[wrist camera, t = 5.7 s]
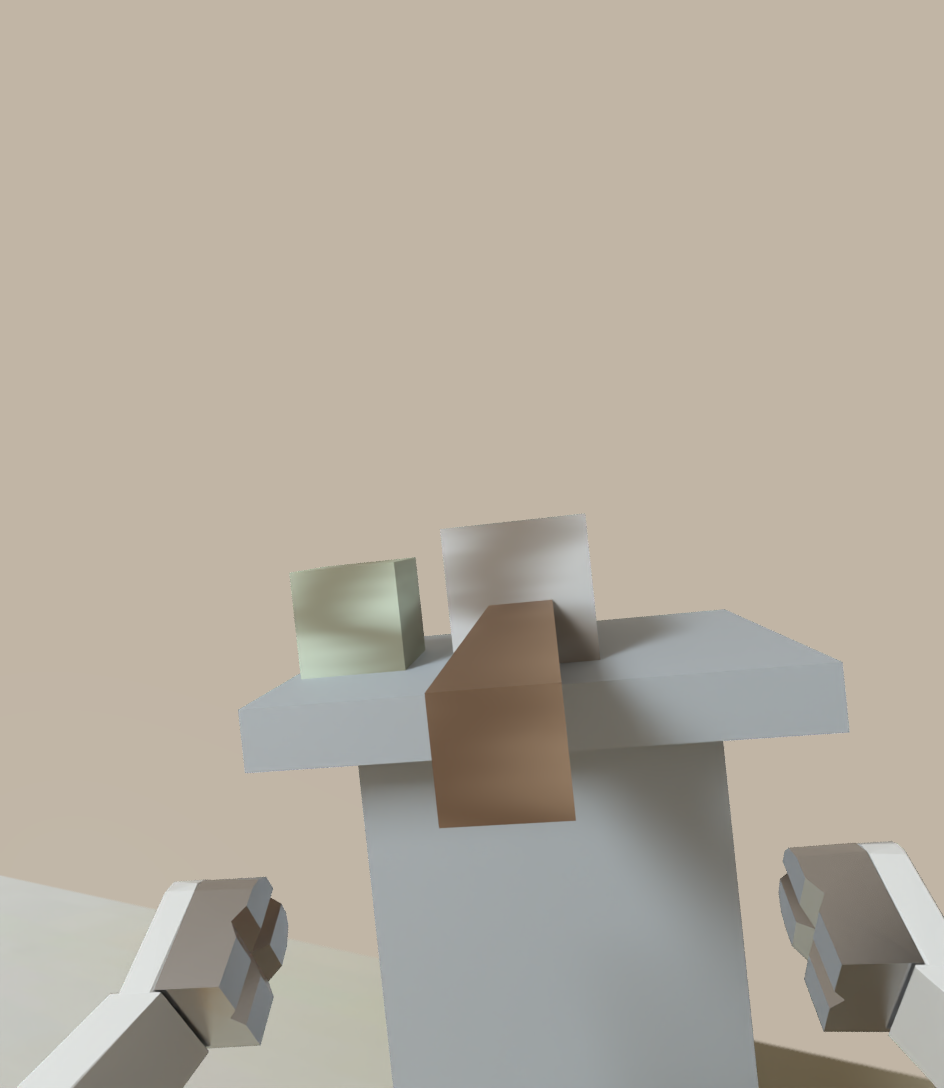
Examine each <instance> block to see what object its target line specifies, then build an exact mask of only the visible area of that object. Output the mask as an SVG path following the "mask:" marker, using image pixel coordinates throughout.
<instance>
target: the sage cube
mask: <svg viewBox="0 0 944 1088" xmlns="http://www.w3.org/2000/svg"><path fill="white" fill-rule="evenodd" d="M290 582H291V591H292V601H293V609H294V619H295V627H296V637H297V646H298V655H299V664H300V673H301V679H310V678H322V677H334V676H345V675H357V674H369V673H381V672H393V671H405V670H406V669H407V668H408V667H409V666H410V665H411V664H412V663H413V662H414V661H415V660H416V659H417V658H418V657H419V656H420V655H421V654H422V653H423V652H424V651H425V641H424V633H423V623H422V614H421V604H420V595H419V586H418V576H417V567H416V558H406V559H396V560H386V561H376V562H367V563H358V564H347V565H339V566H328V567H321V568H316V569H310V570H304V571H298V572H293V573H290Z"/></svg>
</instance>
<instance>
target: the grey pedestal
mask: <svg viewBox="0 0 944 1088" xmlns="http://www.w3.org/2000/svg"><path fill="white" fill-rule="evenodd" d="M596 622H597V632H598V641H599V651H600V660H594V661H582V662H570V663H559V664H560V673H561V682H562V692H563V701H564V711H565V720H566V730H567V739H568V749H569V758H570V768H571V777H572V787H573V796H574V806H575V815H576V821H563V822H545V823H527V824H508V825H490V826H472V827H454V828H439V824H438V815H437V805H436V796H435V787H434V778H433V768H432V759H431V750H430V740H429V731H428V722H427V713H426V703H425V694H424V693H425V692H426V690H427V689H428V688H429V686H430V685H431V684H432V682H433V681H434V679H435V678H436V677H437V675H438V674H439V673H440V671H441V670H442V669H443V667H444V666H445V664H446V663H447V662H448V660H449V659H450V658H451V656H452V655H453V645H452V635H451V634H445V635H434V636H424V641H425V651H424V652H423V653H422V654H421V655H420V656H419V657H418V658H417V659H416V660H415V661H414V662H413V663H412V664H411V665H410V666H409V667H408V668H407V669H406V670H405V671H393V672H381V673H369V674H357V675H345V676H334V677H322V678H310V679H301V673H300V674H298V675H296V676H295V677H293V678H292V679H290V680H288V681H286V682H285V683H283V684H281V685H280V686H278V687H276V688H274V689H273V690H271V691H269V692H268V693H266V694H265V695H263V696H261V697H259V698H258V699H256V700H254V701H253V702H251V703H249V704H247V705H246V706H244V707H242V708H241V709H239V710H238V713H239V722H240V731H241V740H242V749H243V757H244V767H245V773H253V772H269V771H284V770H298V769H313V768H328V767H343V766H358V767H359V777H360V785H361V794H362V803H363V813H364V822H365V831H366V840H367V850H368V859H369V868H370V876H371V885H372V896H373V905H374V914H375V923H376V932H377V941H378V950H379V960H380V969H381V978H382V987H383V996H384V1006H385V1015H386V1024H387V1033H388V1042H389V1051H390V1061H391V1070H392V1079H393V1088H759V1087H758V1077H757V1067H756V1058H755V1048H754V1038H753V1028H752V1019H751V1009H750V1000H749V990H748V980H747V970H746V960H745V951H744V941H743V932H742V921H741V912H740V903H739V893H738V882H737V873H736V863H735V853H734V844H733V834H732V825H731V815H730V804H729V795H728V785H727V776H726V766H725V756H724V746H723V741H728V740H743V739H758V738H773V737H787V736H803V735H818V734H832V733H847V732H849V722H848V713H847V702H846V692H845V682H844V672H843V663H842V662H841V661H839V660H837V659H834V658H832V657H830V656H828V655H826V654H823V653H821V652H819V651H817V650H814V649H812V648H810V647H808V646H805V645H803V644H801V643H798V642H796V641H794V640H792V639H790V638H787V637H785V636H783V635H781V634H778V633H776V632H774V631H772V630H769V629H767V628H765V627H763V626H761V625H758V624H756V623H754V622H751V621H749V620H747V619H745V618H742V617H741V616H738V615H736V614H734V613H731V612H729V611H727V610H714V611H702V612H691V613H680V614H668V615H658V616H646V617H636V618H624V619H613V620H602V621H596Z"/></svg>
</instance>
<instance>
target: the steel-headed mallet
mask: <svg viewBox="0 0 944 1088" xmlns="http://www.w3.org/2000/svg"><path fill="white" fill-rule="evenodd" d="M440 533H441V541H442V551H443V560H444V570H445V579H446V588H447V597H448V607H449V617H450V626H451V635H452V645H453V655H452V656H451V658H450V659H449V660H448V662H447V663H446V664H445V666H444V667H443V669H442V670H441V671H440V673H439V674H438V675H437V677H436V678H435V679H434V681H433V682H432V684H431V685H430V686H429V688H428V689H427V690H426V692H425V693H424V694H425V703H426V713H427V722H428V731H429V740H430V750H431V759H432V768H433V778H434V787H435V796H436V805H437V815H438V824H439V828H454V827H472V826H490V825H508V824H527V823H545V822H563V821H576V815H575V806H574V796H573V787H572V777H571V768H570V758H569V749H568V739H567V730H566V720H565V711H564V701H563V692H562V682H561V673H560V664H559V663H570V662H582V661H594V660H600V651H599V641H598V632H597V622H596V612H595V603H594V594H593V585H592V574H591V565H590V555H589V546H588V536H587V526H586V517H585V514H576V515H567V516H558V517H548V518H541V519H540V518H539V519H530V520H522V521H512V522H503V523H493V524H485V525H475V526H466V527H457V528H448V529H440Z"/></svg>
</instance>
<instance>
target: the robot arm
mask: <svg viewBox="0 0 944 1088" xmlns="http://www.w3.org/2000/svg"><path fill="white" fill-rule="evenodd" d="M783 863H784V866H785V868H786V871H787V874H786V875H785V876H783V877H782V878H781V879H780V885H779V898H780V906H781V913H782V916H783V920H784V924H785V927H786V930H787V933H788V936H789V939H790V941H791V944H792V946H793V947H794V948H795V949H796V950H797V951H798V952H799V953H800V954H801V955H802V956H803V957H805V958H806V959H807V960H808V963H807V968H806V973H805V978H804V980H805V982H806V985H807V988H808V991H809V993H810V996H811V999H812V1001H813V1004H814V1007H815V1009H816V1012H817V1015H818V1017H819V1020H820V1023H821V1025H822V1028H823V1031H824V1032H825V1031H826V1032H833V1031H834V1032H836V1031H837V1032H841V1031H842V1032H889V1037H890V1038H891V1039H892V1040H893V1041H894V1042H895V1043H896V1044H897V1045H898V1046H899V1048H901V1050H902V1051H903V1052H904V1053H905V1054H906V1055H907V1056H908V1057H909V1058H910V1059H911V1060H912V1061H913V1063H914V1064H915V1065H916V1066H917V1067H918V1068H919V1069H920V1070H921V1071H922V1072H923V1073H924V1075H925V1076H926V1077H927V1078H928V1079H929V1080H930V1081H931V1082H932V1083H933V1084H934V1085H935V1086H936V1088H944V916H943V915H942V913H941V911H940V909H939V908H938V906H937V904H936V903H935V901H934V899H933V897H932V896H931V894H930V893H929V891H928V889H927V887H926V886H925V884H924V882H923V880H922V879H921V877H920V875H919V874H918V872H917V870H916V868H915V867H914V865H913V863H912V862H911V860H910V858H909V857H908V855H907V853H906V851H905V850H904V849H903V848H902V847H901V846H900V845H898V844H897V843H895V842H892V841H888V842H873V843H848V844H834V845H822V846H808V847H794V848H788V849H787V850H785V853H784V858H783ZM272 890H273V888H272V886H271V884H270V883H269V881H268V880H267V878H266V877H256V878H238V879H220V880H194V881H179V882H174V883H173V884H172V885H171V886H170V887H169V889H168V890H167V891H166V892H165V894H164V896H163V898H162V900H161V902H160V904H159V907H158V909H157V911H156V913H155V915H154V917H153V920H152V922H151V924H150V926H149V928H148V931H147V933H146V935H145V937H144V939H143V942H142V944H141V946H140V948H139V950H138V953H137V955H136V957H135V959H134V961H133V963H132V966H131V968H130V970H129V972H128V974H127V977H126V979H125V981H124V983H123V985H122V988H121V990H120V992H119V993H110V994H109V995H108V996H107V997H106V998H105V999H104V1000H103V1001H102V1002H101V1003H100V1004H99V1005H98V1006H97V1007H96V1008H95V1009H94V1010H93V1011H92V1012H91V1013H90V1014H89V1015H88V1016H87V1017H86V1018H85V1019H84V1020H83V1021H82V1022H81V1023H80V1024H79V1025H78V1026H77V1027H76V1028H75V1029H74V1030H73V1031H72V1032H71V1033H70V1034H69V1035H68V1036H67V1037H66V1038H65V1039H64V1040H63V1041H62V1042H61V1043H60V1044H59V1045H58V1046H57V1047H56V1048H55V1049H54V1050H53V1051H52V1052H51V1053H50V1054H49V1055H48V1056H47V1057H46V1058H45V1059H44V1060H43V1061H42V1062H41V1063H40V1064H39V1065H38V1066H37V1067H36V1068H35V1069H34V1070H33V1071H32V1072H31V1073H30V1074H29V1075H28V1076H27V1077H26V1078H25V1079H24V1080H23V1081H22V1082H21V1083H20V1084H19V1085H18V1086H17V1087H16V1088H183V1087H184V1085H185V1084H186V1083H187V1081H188V1080H189V1079H190V1077H191V1076H192V1074H193V1073H194V1072H195V1070H196V1069H197V1068H198V1066H199V1065H200V1063H201V1062H202V1061H203V1059H204V1058H205V1057H206V1055H207V1054H208V1050H207V1048H223V1047H241V1046H259V1045H261V1041H262V1037H263V1034H264V1030H265V1026H266V1023H267V1019H268V1015H269V1012H270V1008H271V1004H272V1001H273V994H272V991H271V988H270V985H269V982H268V981H269V980H270V979H271V978H272V977H273V976H274V974H275V973H276V972H277V971H278V970H279V969H280V967H281V966H282V963H283V959H284V955H285V951H286V947H287V937H288V922H287V916H286V912H285V910H284V908H283V906H282V904H281V903H279V902H277V901H275V900H274V899H272V898H270V897H271V893H272Z"/></svg>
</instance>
